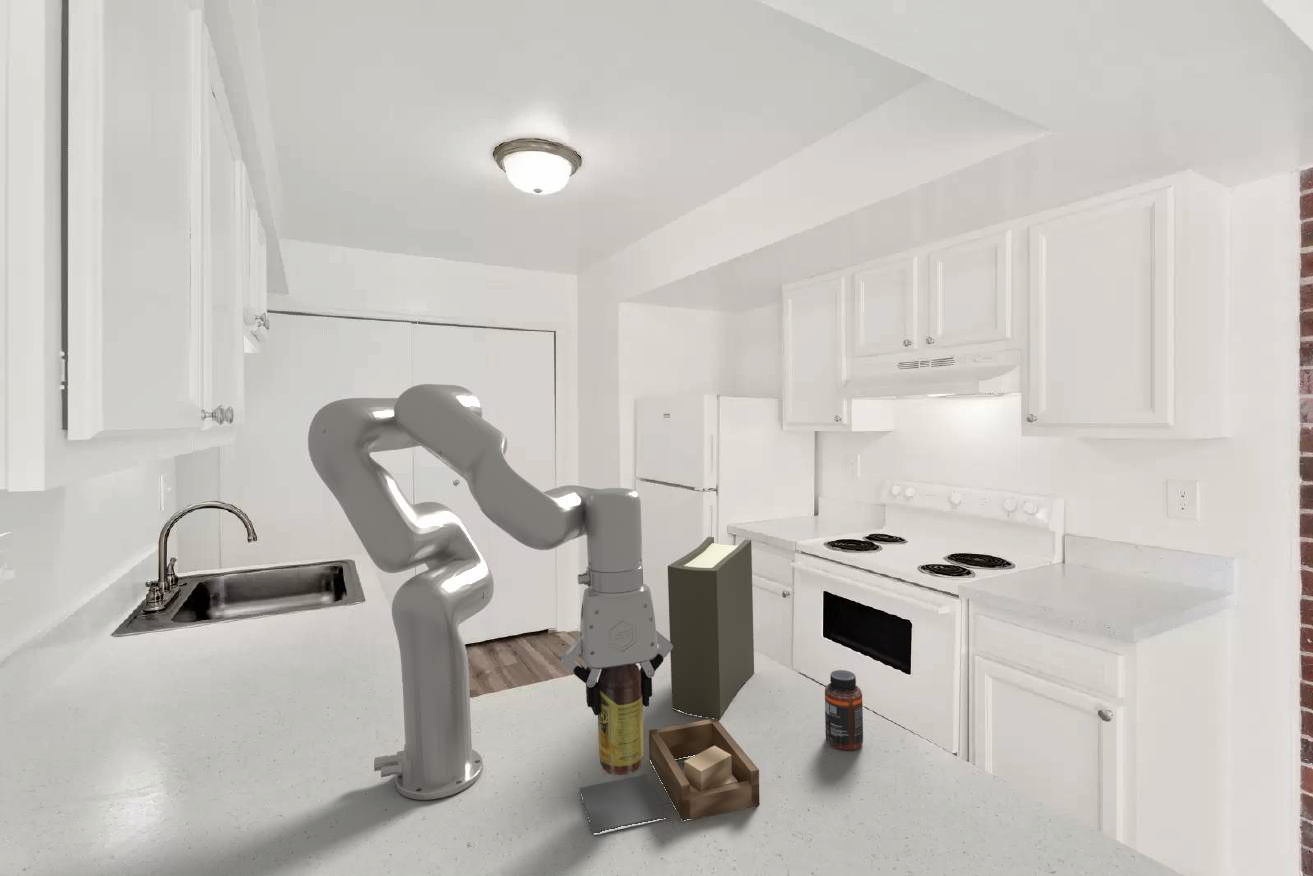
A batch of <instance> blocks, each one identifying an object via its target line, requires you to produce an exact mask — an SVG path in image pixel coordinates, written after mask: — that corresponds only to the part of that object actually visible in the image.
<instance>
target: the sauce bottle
mask: <svg viewBox="0 0 1313 876" xmlns="http://www.w3.org/2000/svg"><path fill="white" fill-rule="evenodd" d="M597 684H598V686H599V692H600V714H599V715H597V729H598V730H597V731H598V734H597V735H598V736H597V737H598V756H599V763H600V766H601V768H602V769H603V770H604V772H606V773H607V774H609V775H614V776H615V775H617V776H623V775H630V774H632V773H636V772H637V771H639V769H640V768H641V766H642V763H643V760H644V713H643V711H644V710H643V707H644V706H643V704H642V689H641V673H640V668H639V665H638V664H631V665H624V666H618V667H611V668H604V669H601V670H600V672H599V675H598V678H597Z"/></svg>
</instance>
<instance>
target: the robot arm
mask: <svg viewBox="0 0 1313 876" xmlns="http://www.w3.org/2000/svg"><path fill="white" fill-rule="evenodd" d="M307 435H308V436H307V447H308V449H307V450H308V452H309V453H308V454H309V457H310V461H311V462H312V466H313V467H314V469H315V471H316V472H317V475H318V477H320V479H321V480H322V482H323V484H325V485H326V487H327V488H328V490H329V491H330V492H331V493H332V495H333V497H334V498H335V499H336V500H337V502H338V503H339V505H340V507H341V509H342V510H343V512H344V514H345V516H346V519H348V522H349V523H350V524H351V527H352V528H353V530H354V531H355V534H356V535H357V537H358V539H359V540H360V542H361V544H362V545H363V548H364V550H365V551H366V552H367V554H368V556H369V558H370V559H371V560H372V562H373V563H374V564H375V566H376V567H377V568H378V569H379V570H380V571H382V572H384V573H388V574H398V573H401V572H404V571H405V572H406V571H409V570H411V569H413V568H417V567H420V566H421V565H422V566H423V565H426V566H427V568H428V569H427V570H425V571H422V572H420V573H418V574H416V575H414V576H412V577H411V578H408V579H407V580H406V581H404V583H403V584H402V585H401V586H399V588H398V589H397V591H396V592H395V595H394V597H393V600H392V602H391V603H392V605H391V616H392V617H391V618H392V621H393V625H394V630H395V633H396V637H397V642H398V646H399V647H398V648H399V653H400V655H399V656H400V663H401V664H400V665H401V683H402V701H403V720H404V721H403V722H404V723H403V724H404V742H405V743H404V746H403V750H399V751H397V752H396V754H391V755H382V756H381V755H380V756H375V757H374V759H373V770H374V772H379V771H380V777H381V778H386V777H390V776H394V775H395V787H396V790H397V791H398V792H399V794H401V795H402V796H404V797H405V798H406V797H407V798H409V799H413V800H420V801H422V800H423V801H428V800H430V801H431V800H437V799H444V798H446V797H450V796H453V795H455V794H457V793H459V792H462V791H465V789H467V788H469V787H470V786H471V785H473V784H474V783H475V782H476V781H477V780H478V779H479V778H480V776H481V775H480V774H482V773H481V772H483V770H482V769H484V760H483V757H482V755H481V754H480V753H479V752H478V751H476V750H474V749H473V748H472V747H473V746H472V745H473V744H472V743H473V742H472V723H471V722H472V720H471V698H470V697H471V696H470V695H471V693H470V692H471V691H470V690H471V689H470V673H469V672H470V671H469V658H468V652H467V647H466V645H465V642H464V641H463V639H462V637H461V635H460V634H461V633H460V630H459V626H460V624H462V623H464V622H465V621H466V620H468V619H470V618H472V617H474V616H475V615H477V614H478V613H480V612H481V611H483V610H484V609H485V608H486V607H487V606H488V605H489V604H490V603H491V600H492V598H493V595H494V591H495V583H494V577H493V574H492V572H491V569H490V567H489V566H488V562H486V560H485V558H484V557H483V555H482V553H481V552H480V550H479V548H478V547H477V545H476V543H475V542H474V540H473V539H472V536H471V534H469V532H468V530H467V528H466V527H465V525H464V523H463V522H462V521H461V519H460V517H459V516H458V515H457V514H456V513H455V512H454V511H453V510H452V509H451V508H449V507H448V506H446V505H444V504H442V503H440V502H437V501H436V502H435V501H425V502H419V503H414V504H412V503H411V502H410V501H409V500H408V499H407V497H406V496H405V494H404V493H403V491H402V489H401V488H400V486H399V484H398V482H397V480H396V479H395V477H394V476H393V475H392V474H391V473H390V472H389V471H388V470H387V469H385V468H384V467H383V466H382V465H381V464H380V463H378V462H376V461H375V459H373V458H372V457H371V453H379V452H387V451H388V452H389V451H397V450H404V449H410V448H415V447H422V448H423V449H425V450H426V451H427V452H428V453H430V454H431V455H433V456H434V457H435V458H436V459H438V461H440V462H442V463H443V464H445V466H447V467H448V468H450V469H451V470H452V471H453V472H455V473H456V474H457V475H459V476H460V477H462V478H463V479H464V480H465V481H466V483H467V486H468V489H469V492H470V495H471V496H472V498H473V499H474V501H475V503H476V505H477V506H478V508H479V509H480V511H481V512H482V514H483V515H485V516H486V518H487V519H489V521H490V522H492V523H493V524H494V525H495V526H497V527H498V528H500V530H502V531H503V532H505V533H506V534H508V535H509V537H511V538H513V539H514V540H516V541H517V542H518V543H521V544H522V545H524V546H526V547H528V548H531V549H533V550H539V551H549V550H553V549H556V548H558V547H560V546H562V545H563V544H566V543H567V542H569V541H572V540H576V539H578V538H581V537H583V536H586V546H587V547H586V550H587V551H586V553H587V566H586V570H585V572H583V573H580V574H577V584H578V585H584V586H587V588H586V587H585V588H584V591H583V595H582V602H581V610H580V623H579V625H580V626H579V628H580V629H579V637H578V639H576V640H575V642H573V644H572V645H571V646H570V647H569V648H568V650H567V651H566V652H564V654H562V656H561V658H560V660H561V663H562V665H563V666H564V667H566V668H567V669H568V670H569V671H570V672H572V673H573V674H574V675H575V676H576V677H577V678H578V679H579V680H580V681H582V682H583V683H584V684H585V692H586V693H585V695H586V697H585V698H586V706H587V708H591V710H592V712H593V715H594V716H598V715H599V714H600V692H599V686H598V684H597V682H598V679H599V675H600V672H601V669H604V668H611V667H618V666H624V665H631V664H636V665H638V664H639V666H640V668H639V670H640V673H641V689H642V704H643V707H647V708H648V707H650V698H652V697H653V680H652V679H653V677H654V676H655V673H656V671H657V670H658V669H659V667H660V666H661V665H662V664H663V662H664V659H665V658H666V657H667V656H668V655H669V654H670V651H671V650H672V648H673V645H672V644H671V643H670V640H668V639H667V637H665V636H664V635H662V634H661V633H660V632H659V631H658V630H657V626H656V618H655V611H654V603H653V598H652V594H651V589H650V587H649V586H648V585H646V584H645V583H644V567H643V539H642V538H643V536H642V505H641V504H642V503H641V498H640V494H639V493H638V492H637V491H636V490H634V489H632V488H625V487H609V488H607V487H605V488H592V487H586V486H582V485H581V486H580V485H572V484H570V485H569V484H567V485H562V486H560V487H559V486H558V487H554V488H551V489H547V490H544V491H541V490H540V489H538V487H536V486H535V485H533V484H531V483H530V481H528V480H526V479H525V478H524V477H522V476H521V475H519V474H518V472H516V471H515V470H514V469H513V468H512V467H511V465H510V464H509V463H508V462H507V460H506V458H505V455H506V452H507V450H508V439H507V437H506V435H505V433H503V432H502V431H501V430H500V429H498V428H496V426H494V425H492V424H491V423H490V422H489V421H487V420H485V419H484V418H483V411H482V405H481V402H480V401H479V399H478V397H477V396H476V395H475V394H474V392H472V391H471V390H469V389H468V388H465V387H464V386H460V385H457V384H438V383H437V384H434V383H433V384H432V383H422V384H418V385H414V386H412V387H409V388H407V389H406V390H405V391H403V392H402V393H401V394H400V395H399V396H398V397H354V398H353V397H352V398H351V397H350V398H342V399H337V400H334V401H332V402H329V403H327V404H325V405H324V406H322V407H321V408H320V409H319V410H318V411H317V412H316V413H315V414H314V416H313V418H312V420H311V422H310V426H309V430H308V434H307ZM580 654H581V655H580ZM579 655H580V656H581V657H583V660H584V663H585V665H586V666H585V667H584V666H583V665H582V664H580V663H579V662H578V661H577V660H576V659H577V658H578V657H579ZM477 778H478V779H477Z"/></svg>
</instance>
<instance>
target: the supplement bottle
mask: <svg viewBox="0 0 1313 876" xmlns="http://www.w3.org/2000/svg"><path fill="white" fill-rule="evenodd" d="M829 677H830V681H829V682H830V683H828V684H827V685H826V687H825V688H824V714H825V715H824V716H825V718H824V720H825V722H824V723H825V726H824V727H825V728H824V732H825V740H826V742H827V743H828V745H830V746H832V747H833V748H835V749H838V750H842V751H843V750H844V751H852V750H853V751H854V750H857V749H859V748H860V747H862V746H863V743H864V717H863V714H864V713H863V710H864V709H863V693H862V690H861V689H860V687H859V686H858V685H856V684H857V676H856V674H855V673H853V672H852V671H850V670H845V669H837V670H833V671H832V672H830V676H829Z"/></svg>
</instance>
